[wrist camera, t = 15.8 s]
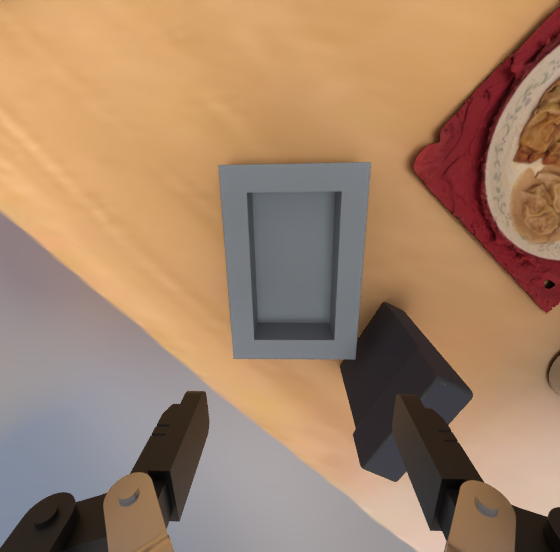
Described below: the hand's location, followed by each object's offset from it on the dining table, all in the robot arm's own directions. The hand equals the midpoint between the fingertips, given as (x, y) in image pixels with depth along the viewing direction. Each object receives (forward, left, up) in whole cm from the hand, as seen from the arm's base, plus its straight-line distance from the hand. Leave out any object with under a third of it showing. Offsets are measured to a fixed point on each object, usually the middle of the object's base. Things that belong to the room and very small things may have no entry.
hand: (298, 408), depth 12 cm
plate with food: (-23, -13, -30) cm, 40 cm away
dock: (0, 0, -24) cm, 24 cm away
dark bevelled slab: (-10, +11, -24) cm, 28 cm away
